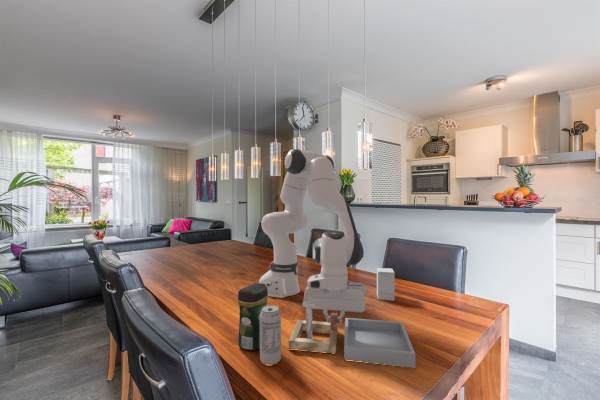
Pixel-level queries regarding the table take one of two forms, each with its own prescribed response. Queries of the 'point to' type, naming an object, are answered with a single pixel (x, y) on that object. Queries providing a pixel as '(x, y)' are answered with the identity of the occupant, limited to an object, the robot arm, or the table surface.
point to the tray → (378, 342)
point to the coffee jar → (251, 314)
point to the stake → (309, 318)
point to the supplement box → (385, 284)
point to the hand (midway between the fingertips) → (334, 322)
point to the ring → (315, 344)
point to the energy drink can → (270, 334)
